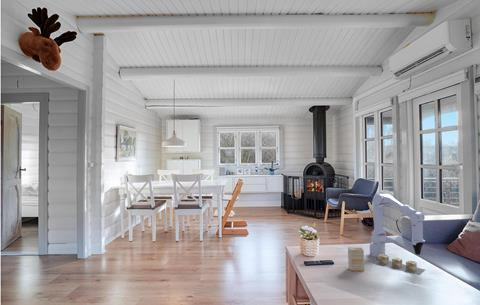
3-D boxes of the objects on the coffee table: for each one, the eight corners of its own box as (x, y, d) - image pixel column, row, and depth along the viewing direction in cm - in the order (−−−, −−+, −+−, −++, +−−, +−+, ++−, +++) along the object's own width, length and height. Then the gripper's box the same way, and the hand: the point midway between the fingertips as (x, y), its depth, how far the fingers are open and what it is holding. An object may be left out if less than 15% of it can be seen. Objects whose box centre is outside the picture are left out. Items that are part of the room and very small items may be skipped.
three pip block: (405, 269, 174) (405, 261, 174) (408, 267, 177) (408, 259, 177) (414, 271, 170) (414, 263, 171) (416, 269, 174) (416, 261, 174)
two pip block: (378, 262, 186) (378, 255, 186) (381, 260, 189) (381, 253, 189) (386, 264, 182) (385, 257, 182) (388, 262, 185) (388, 255, 185)
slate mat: (370, 263, 186) (370, 262, 186) (378, 259, 194) (378, 258, 194) (419, 276, 165) (419, 275, 165) (425, 270, 173) (425, 269, 173)
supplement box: (361, 268, 178) (361, 247, 178) (364, 271, 173) (363, 249, 173) (348, 268, 178) (347, 247, 179) (350, 271, 174) (349, 249, 174)
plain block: (391, 265, 180) (391, 258, 180) (394, 264, 183) (394, 257, 183) (399, 267, 176) (399, 260, 177) (402, 266, 179) (402, 258, 180)
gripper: (421, 235, 167) (421, 258, 167) (428, 231, 177) (428, 253, 177) (407, 233, 172) (408, 255, 172) (415, 229, 182) (415, 250, 182)
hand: (417, 254), depth 175 cm, fingers closed
